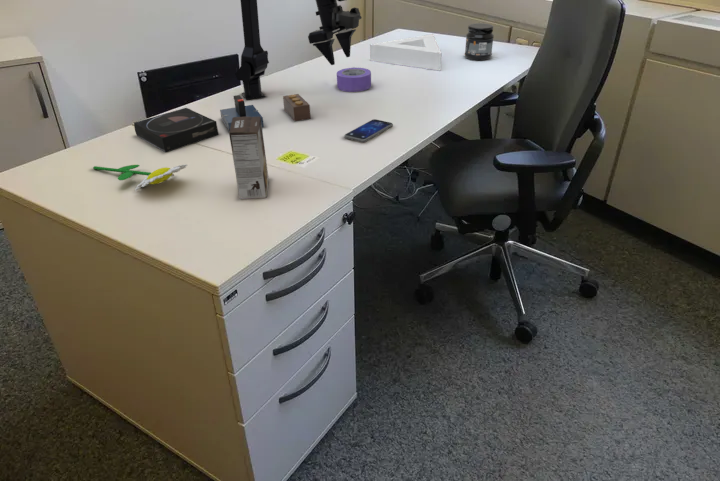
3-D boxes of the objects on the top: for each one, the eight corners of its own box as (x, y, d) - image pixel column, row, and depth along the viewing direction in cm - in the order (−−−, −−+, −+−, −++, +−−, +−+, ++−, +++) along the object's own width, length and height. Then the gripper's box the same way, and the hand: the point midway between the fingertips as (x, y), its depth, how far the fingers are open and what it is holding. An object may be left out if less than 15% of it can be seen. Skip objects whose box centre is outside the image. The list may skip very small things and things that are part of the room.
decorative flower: (76, 187, 135) (160, 199, 121) (69, 169, 133) (154, 179, 118) (119, 170, 145) (201, 179, 130) (113, 152, 143) (196, 159, 128)
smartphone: (342, 135, 152) (373, 118, 162) (342, 138, 152) (373, 121, 162) (364, 140, 148) (394, 123, 158) (364, 143, 148) (394, 126, 159)
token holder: (284, 109, 172) (282, 94, 170) (299, 107, 174) (298, 92, 171) (294, 121, 164) (293, 105, 161) (310, 118, 165) (309, 103, 163)
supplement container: (475, 52, 224) (478, 21, 218) (496, 57, 218) (500, 25, 211) (458, 57, 218) (461, 26, 212) (480, 62, 212) (483, 30, 205)
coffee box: (242, 181, 132) (232, 116, 123) (269, 179, 132) (261, 115, 123) (238, 199, 124) (227, 132, 115) (267, 198, 124) (258, 130, 115)
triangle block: (440, 70, 204) (441, 53, 201) (370, 71, 205) (370, 54, 201) (432, 49, 229) (433, 34, 226) (370, 51, 230) (369, 35, 226)
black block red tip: (235, 110, 164) (233, 94, 161) (241, 109, 164) (239, 94, 162) (240, 117, 159) (237, 101, 157) (246, 116, 160) (244, 100, 157)
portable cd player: (187, 120, 167) (185, 107, 164) (218, 134, 156) (216, 121, 154) (136, 135, 157) (132, 122, 155) (165, 152, 147) (162, 138, 145)
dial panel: (221, 119, 166) (219, 109, 165) (254, 114, 170) (253, 104, 168) (229, 133, 157) (227, 122, 155) (264, 127, 160) (263, 116, 159)
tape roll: (331, 90, 188) (330, 75, 185) (345, 80, 197) (344, 66, 194) (363, 93, 184) (363, 78, 181) (376, 83, 193) (376, 69, 190)
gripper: (334, 5, 144) (348, 65, 151) (366, -7, 158) (378, 49, 164) (300, 12, 150) (315, 70, 157) (334, 1, 164) (347, 54, 170)
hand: (340, 60), depth 162 cm, fingers open, 9 cm apart
